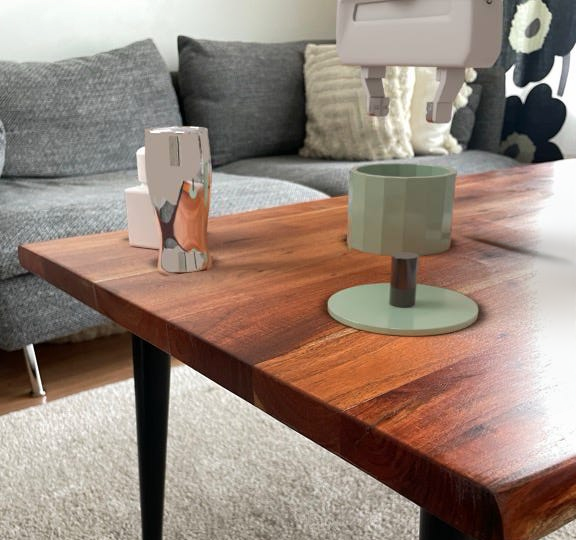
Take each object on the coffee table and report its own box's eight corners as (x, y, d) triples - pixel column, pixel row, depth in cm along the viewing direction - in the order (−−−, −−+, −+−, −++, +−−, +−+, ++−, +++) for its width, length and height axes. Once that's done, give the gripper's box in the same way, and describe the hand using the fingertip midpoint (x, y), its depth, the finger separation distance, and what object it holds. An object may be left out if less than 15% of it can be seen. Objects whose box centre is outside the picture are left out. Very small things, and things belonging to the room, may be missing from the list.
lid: (412, 286, 75) (416, 232, 72) (509, 325, 64) (517, 262, 62) (300, 307, 69) (300, 248, 66) (386, 354, 58) (390, 285, 55)
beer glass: (206, 279, 77) (198, 132, 71) (144, 276, 78) (132, 131, 72) (223, 263, 84) (217, 126, 77) (165, 260, 85) (155, 125, 78)
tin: (406, 232, 98) (410, 160, 94) (471, 252, 88) (479, 172, 84) (328, 243, 92) (330, 167, 88) (388, 265, 82) (393, 181, 78)
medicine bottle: (161, 235, 97) (154, 141, 92) (206, 240, 94) (201, 144, 89) (128, 246, 91) (118, 147, 86) (175, 252, 88) (168, 150, 83)
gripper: (532, -61, 56) (509, 126, 62) (379, -34, 73) (372, 112, 78) (471, -67, 54) (452, 129, 59) (326, -38, 70) (323, 113, 76)
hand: (406, 119), depth 69 cm, fingers open, 8 cm apart
